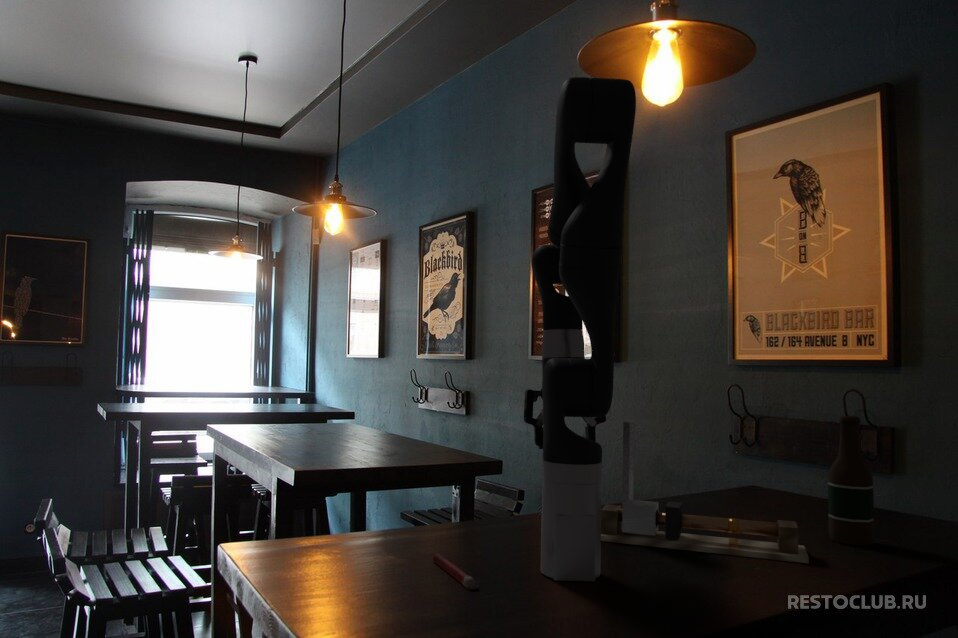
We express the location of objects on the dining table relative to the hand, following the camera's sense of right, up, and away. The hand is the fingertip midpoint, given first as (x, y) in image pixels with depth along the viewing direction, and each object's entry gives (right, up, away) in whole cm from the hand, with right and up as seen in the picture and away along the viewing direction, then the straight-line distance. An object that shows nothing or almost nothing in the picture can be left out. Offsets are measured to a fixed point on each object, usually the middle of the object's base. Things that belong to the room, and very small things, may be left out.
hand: (565, 448), depth 124 cm
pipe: (+25, -16, +6) cm, 30 cm away
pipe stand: (+25, -19, +6) cm, 32 cm away
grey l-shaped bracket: (+15, -17, +9) cm, 25 cm away
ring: (+21, -18, +7) cm, 28 cm away
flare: (-19, -17, -17) cm, 30 cm away
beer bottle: (+56, -20, +12) cm, 61 cm away
